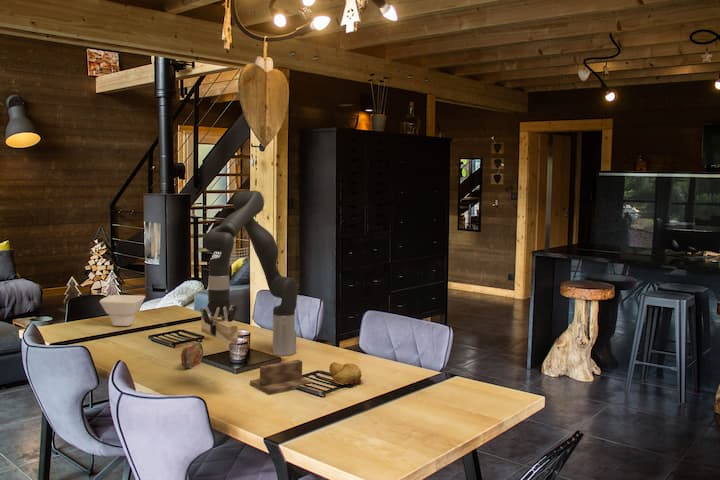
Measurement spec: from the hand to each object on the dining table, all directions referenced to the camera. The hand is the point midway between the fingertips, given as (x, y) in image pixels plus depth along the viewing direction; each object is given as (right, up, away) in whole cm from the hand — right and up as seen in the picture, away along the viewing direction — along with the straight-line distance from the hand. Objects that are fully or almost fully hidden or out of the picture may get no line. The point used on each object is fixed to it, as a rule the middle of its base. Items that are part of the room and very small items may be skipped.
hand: (218, 334), depth 240 cm
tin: (-16, -16, +25) cm, 34 cm away
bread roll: (+47, -19, +6) cm, 51 cm away
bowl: (-68, -9, +93) cm, 116 cm away
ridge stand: (+22, -19, +2) cm, 29 cm away
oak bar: (0, -1, 0) cm, 1 cm away
